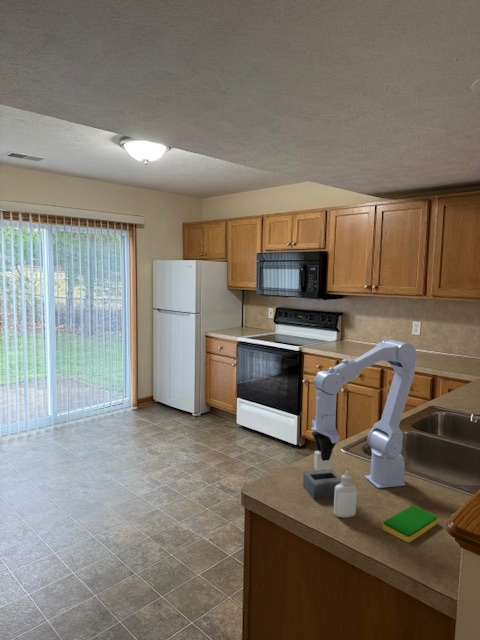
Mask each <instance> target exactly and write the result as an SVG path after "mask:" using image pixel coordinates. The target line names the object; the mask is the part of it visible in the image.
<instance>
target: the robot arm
mask: <svg viewBox="0 0 480 640" xmlns="http://www.w3.org/2000/svg"><path fill="white" fill-rule="evenodd" d="M418 355H419V353H418V352H417V350H416V348H415V346H414V345H413V344H411V342H403V341H397V340H394V339H390V338H386V339H384V340H383V341H380V342H378V343H377V345H376V346H375V347H373V348H372V349H370V350H368V351H367V352H365V353H364V354H362V355H361V356H358V357H357V358H355V359H354V360H353V359H350V358H348V359H347V358H344V359H342V360H341V362H340V363H338V364H337V365H335V366H330V367H329V368H328V369H327V370H321V371H318V372H317V373H316V375H315V376H314V379H313V380H312V385H313V386H314V388H315V394H316V395H315V396H316V397H315V419H312V420H311V426H312V427H311V429H310V430H311V431H312V432H311V435H312V437H313V440H314V442H315V446H316V451H321V457H322V460H323V461H326V460H330V457H331V453H332V452H333V450H334V448H335V446H336V444H339V443H340V435H339V434H338V431H337V428H336V415H337V414H336V413H337V396H338V395H337V394H338V393H339V392H340V390H341V389H342V387H343V386H344V385H345V384H347V383H350V382H351V381H353V380H354V379H356V378H357V377H359V376H360V373H361V371H363V370H365V369H366V368H368V367H371V366H373V365H375V364H378V363H379V362H382V361H386V362H387V363H389V365H390V366H391V367H392V369H393V371H394V373H393V374H394V375H393V379H392V381H391V384H390V388H389V391H388V394H387V399H386V402H385V405H384V407H383V412H382V414H381V419H380V420H379V421H376V422H375V423H374V424H373V426H372V429H371V430H370V431H369V432H368V435H367V439H366V440H367V444H368V445H369V447H370V450H371V458H370V459H371V462H370V474H366V475H364V477H365V478H366V479H367V480H368V481H369V483H372V484H373V485H374V486H375V488H378V489H383V488H392V487H393V488H394V487H403V486H406V483H405V469H406V468H405V465H406V464H405V459H404V456H403V455H402V454H401V453H402V451H403V438H404V434H403V433H402V432H403V431H401V429H400V428H401V427H400V424H401V421H402V418H403V413H404V410H405V408H406V403H407V400H408V397H409V393H410V389H411V387H412V383H413V380H414V376H415V373H416V361H417V358H418Z"/></svg>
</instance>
